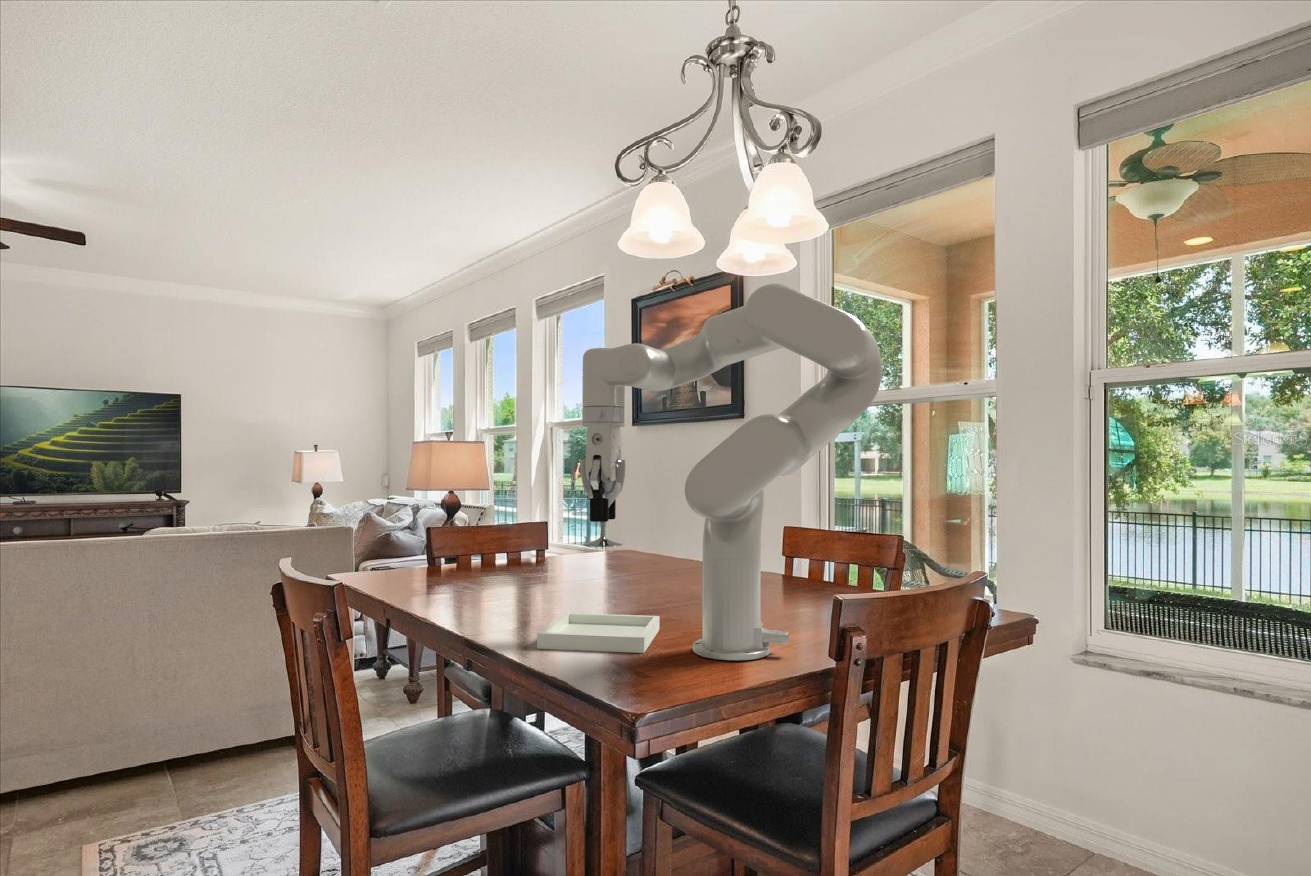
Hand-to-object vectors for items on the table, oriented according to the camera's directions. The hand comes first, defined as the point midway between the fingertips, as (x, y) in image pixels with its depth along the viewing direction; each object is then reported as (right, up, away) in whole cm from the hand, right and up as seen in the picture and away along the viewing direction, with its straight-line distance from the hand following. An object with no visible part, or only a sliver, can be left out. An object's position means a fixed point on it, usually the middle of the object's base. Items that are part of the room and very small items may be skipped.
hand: (602, 519), depth 135 cm
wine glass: (0, -5, 0) cm, 5 cm away
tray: (0, -21, -1) cm, 21 cm away
